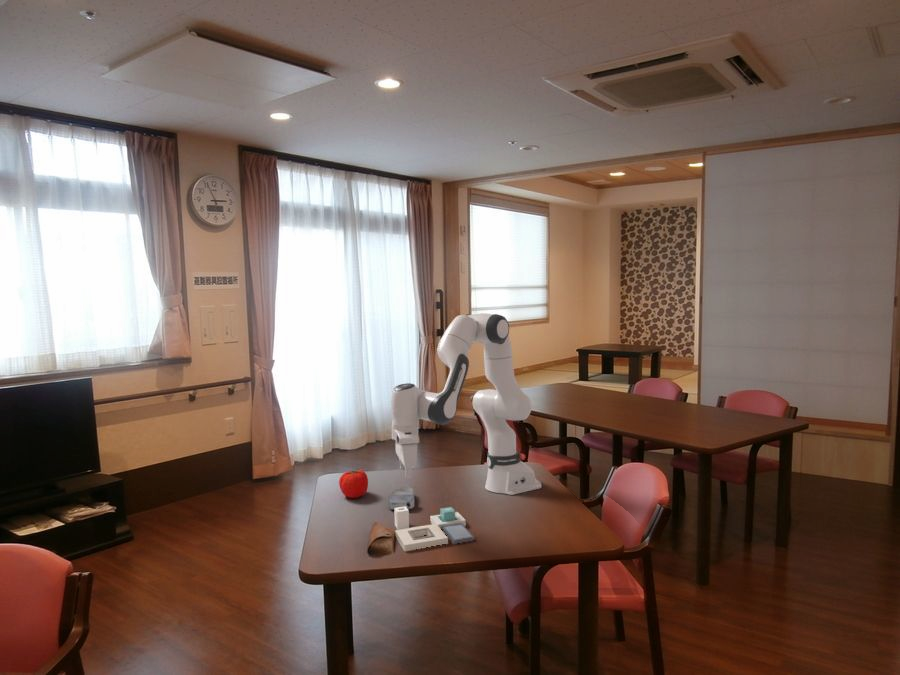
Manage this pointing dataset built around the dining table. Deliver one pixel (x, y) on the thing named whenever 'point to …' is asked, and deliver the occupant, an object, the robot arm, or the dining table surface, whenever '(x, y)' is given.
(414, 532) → the outlet plate
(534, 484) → the robot arm
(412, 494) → the handheld device
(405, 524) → the charger
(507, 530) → the dining table surface
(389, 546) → the sunglasses case
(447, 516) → the teal small block
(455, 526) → the phone dock
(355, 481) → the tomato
